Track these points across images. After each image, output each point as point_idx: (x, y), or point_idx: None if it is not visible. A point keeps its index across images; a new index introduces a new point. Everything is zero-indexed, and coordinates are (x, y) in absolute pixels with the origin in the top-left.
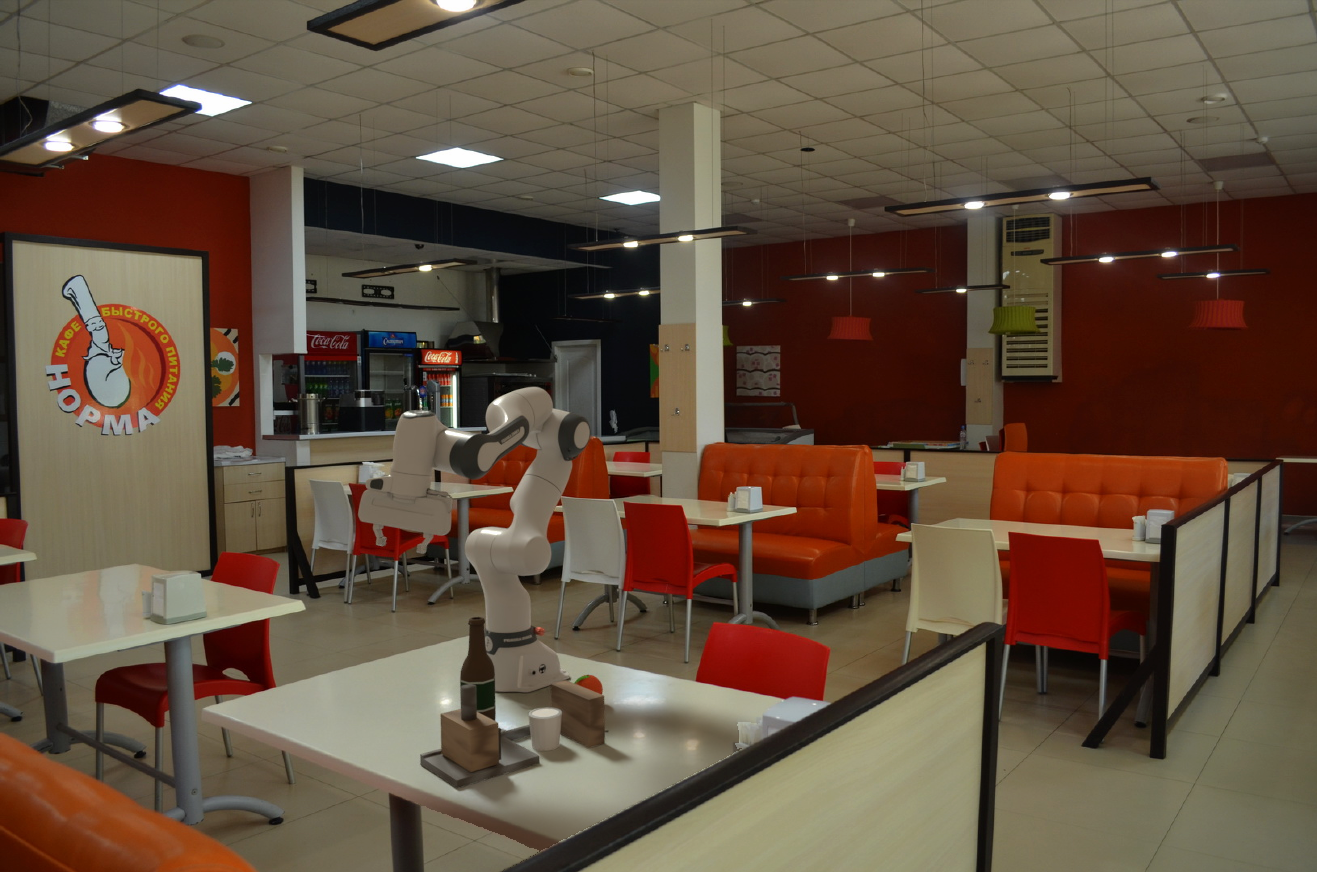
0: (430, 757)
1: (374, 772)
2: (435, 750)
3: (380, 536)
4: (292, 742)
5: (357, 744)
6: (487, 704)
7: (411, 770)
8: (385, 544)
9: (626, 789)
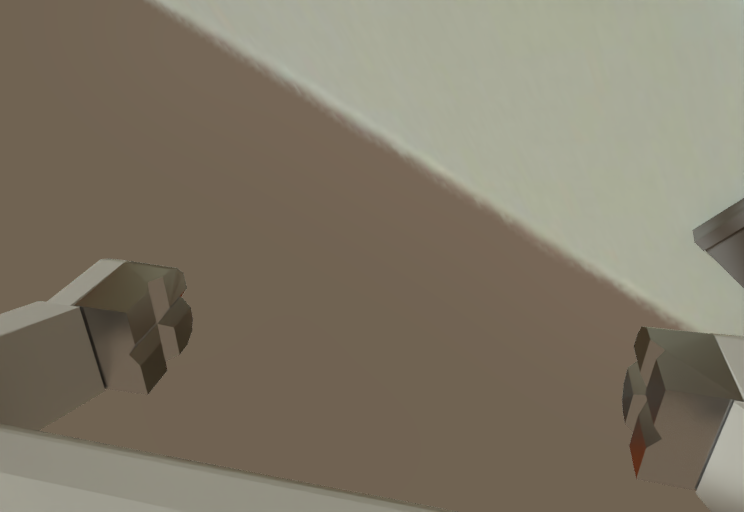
0: (724, 243)
1: (589, 267)
2: (735, 219)
3: (90, 373)
4: (330, 112)
5: (483, 115)
6: None
7: (677, 261)
8: (176, 270)
9: None
